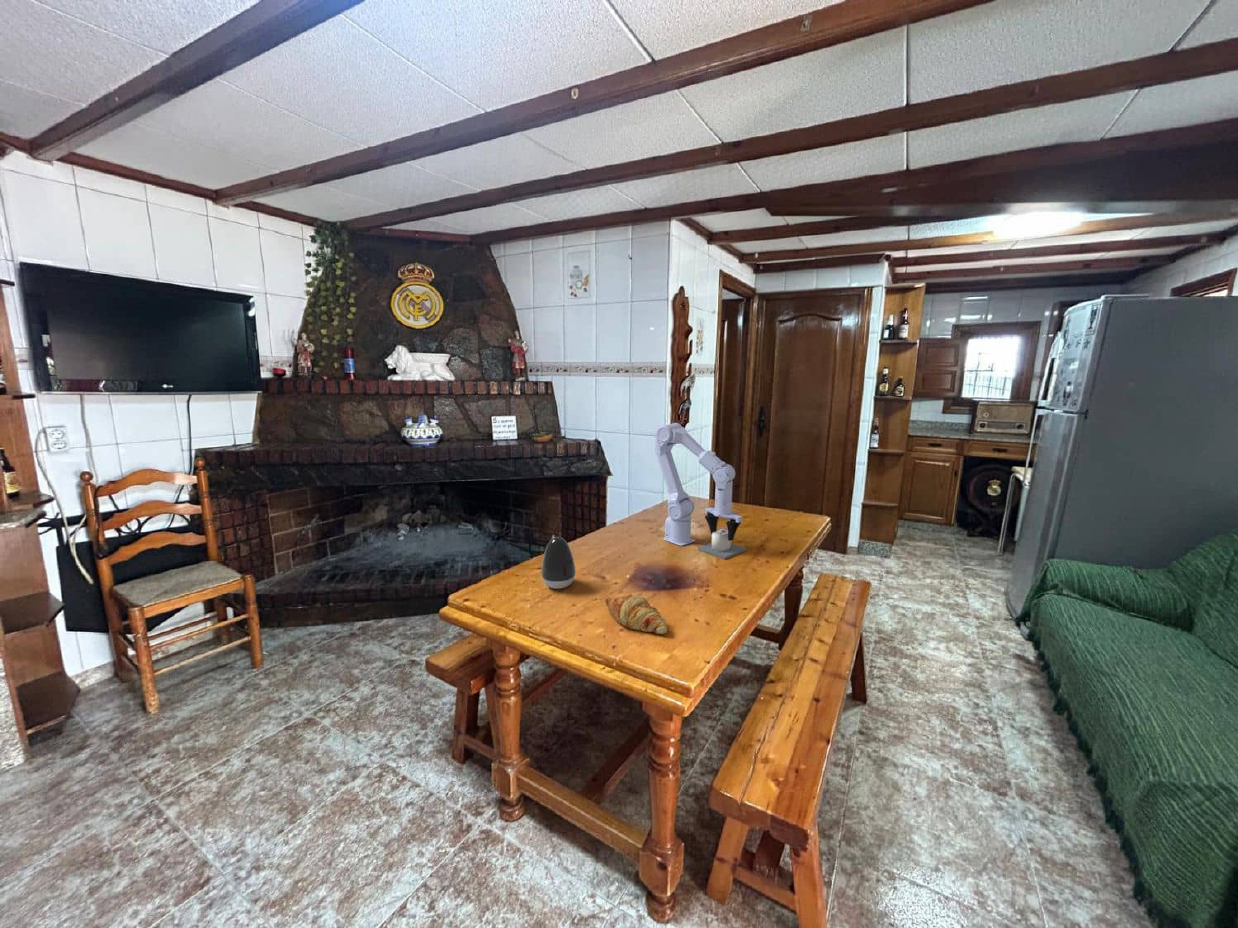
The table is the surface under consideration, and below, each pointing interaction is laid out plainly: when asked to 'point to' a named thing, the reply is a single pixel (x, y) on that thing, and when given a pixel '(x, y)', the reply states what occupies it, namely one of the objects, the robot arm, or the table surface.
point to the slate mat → (723, 554)
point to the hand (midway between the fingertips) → (722, 537)
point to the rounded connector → (720, 540)
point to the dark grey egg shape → (558, 564)
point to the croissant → (636, 614)
